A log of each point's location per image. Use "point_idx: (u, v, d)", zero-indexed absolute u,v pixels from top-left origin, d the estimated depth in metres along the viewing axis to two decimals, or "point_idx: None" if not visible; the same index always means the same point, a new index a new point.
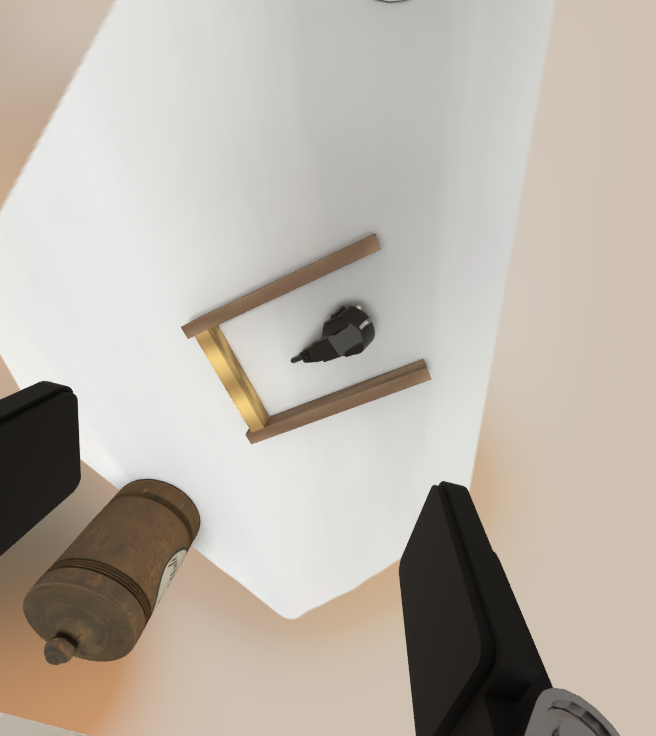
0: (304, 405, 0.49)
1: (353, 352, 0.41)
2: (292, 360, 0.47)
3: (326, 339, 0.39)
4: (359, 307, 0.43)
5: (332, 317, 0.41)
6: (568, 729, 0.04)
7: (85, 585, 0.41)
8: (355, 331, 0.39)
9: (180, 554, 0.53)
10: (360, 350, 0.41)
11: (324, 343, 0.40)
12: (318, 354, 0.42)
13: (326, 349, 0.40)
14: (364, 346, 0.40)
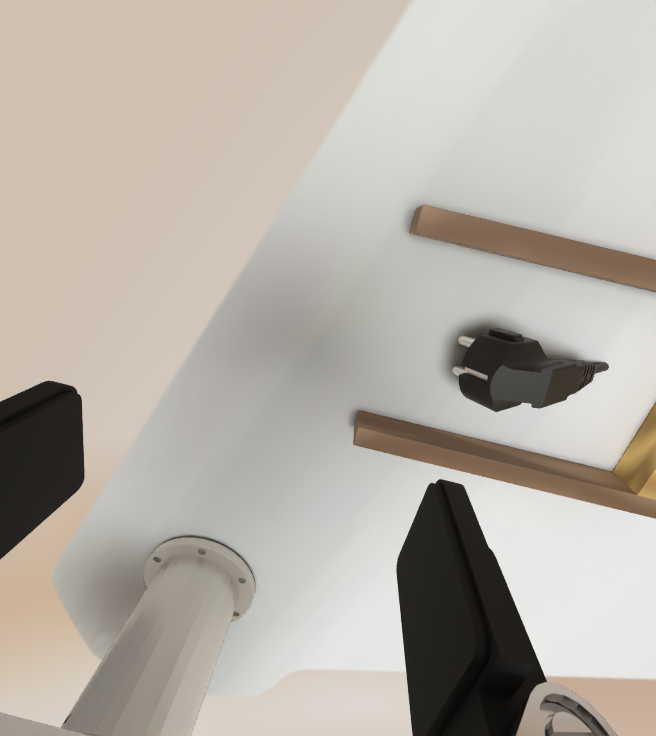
0: None
1: (523, 346, 0.24)
2: (604, 370, 0.27)
3: (543, 406, 0.23)
4: (455, 372, 0.28)
5: None
6: (561, 723, 0.04)
7: None
8: (496, 386, 0.23)
9: None
10: (513, 347, 0.23)
11: (551, 399, 0.23)
12: (572, 380, 0.24)
13: (558, 387, 0.23)
14: (503, 351, 0.23)
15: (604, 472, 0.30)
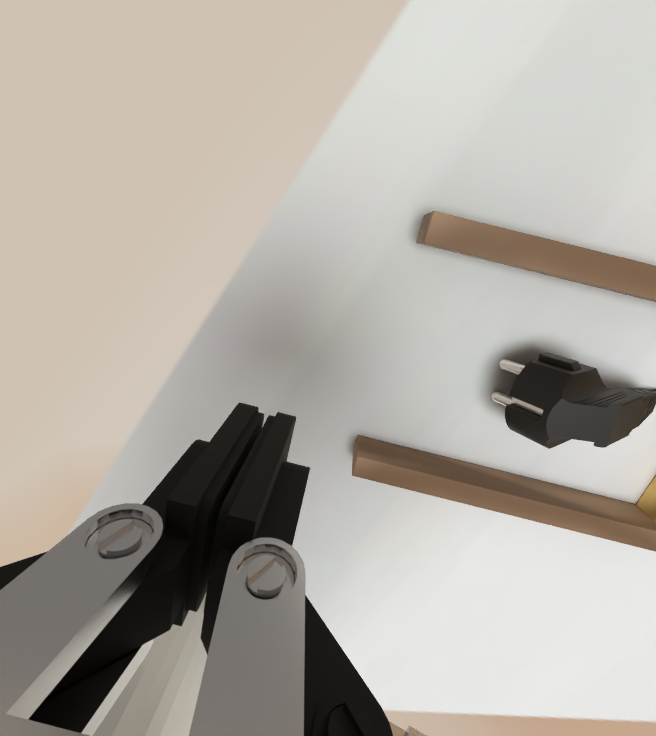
0: None
1: (582, 375, 0.21)
2: None
3: None
4: (494, 399, 0.26)
5: None
6: (254, 568, 0.05)
7: None
8: (553, 422, 0.20)
9: None
10: (572, 378, 0.20)
11: (615, 437, 0.20)
12: (637, 414, 0.21)
13: (624, 422, 0.20)
14: (561, 382, 0.20)
15: (627, 504, 0.28)
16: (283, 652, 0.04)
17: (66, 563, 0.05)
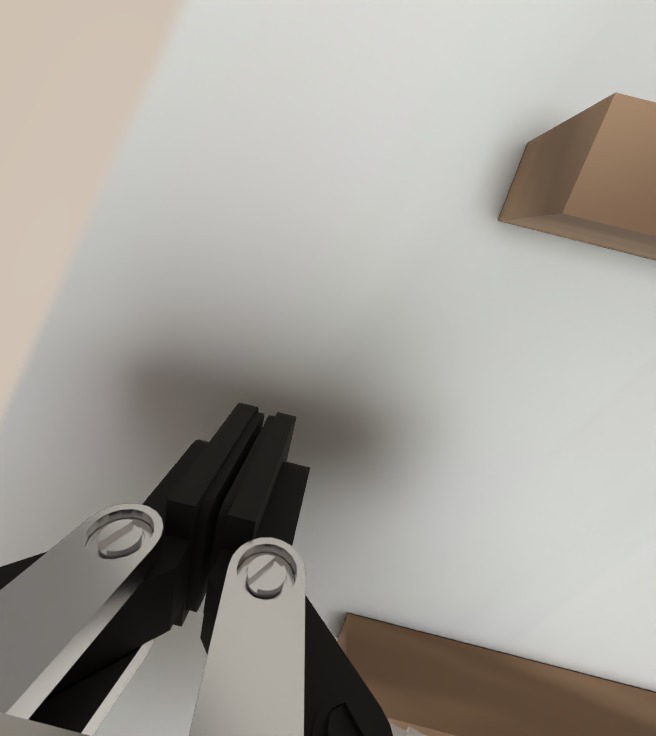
0: None
1: None
2: None
3: None
4: None
5: None
6: (253, 568, 0.05)
7: None
8: None
9: None
10: None
11: None
12: None
13: None
14: None
15: None
16: (283, 652, 0.04)
17: (66, 563, 0.05)
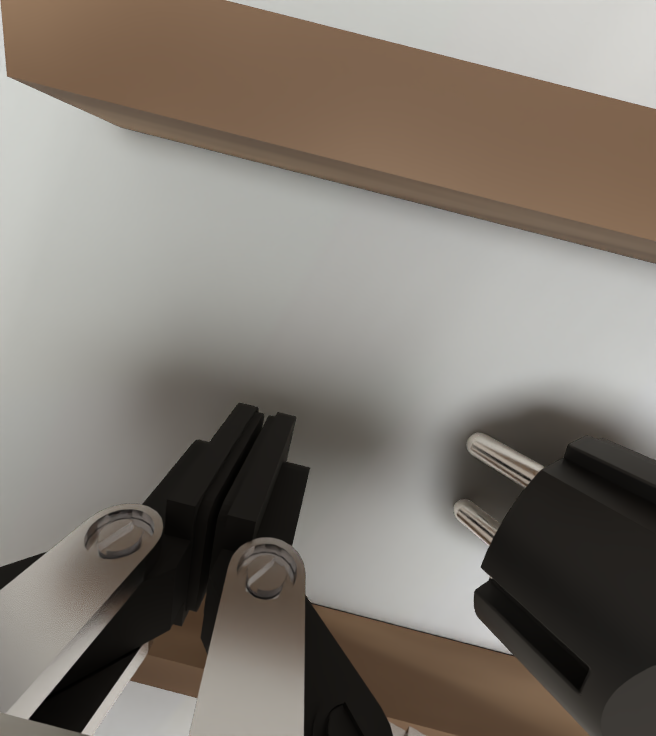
0: None
1: None
2: None
3: None
4: (460, 519, 0.11)
5: None
6: (253, 567, 0.05)
7: None
8: (629, 717, 0.06)
9: None
10: None
11: None
12: None
13: None
14: None
15: None
16: (283, 652, 0.04)
17: (66, 563, 0.05)
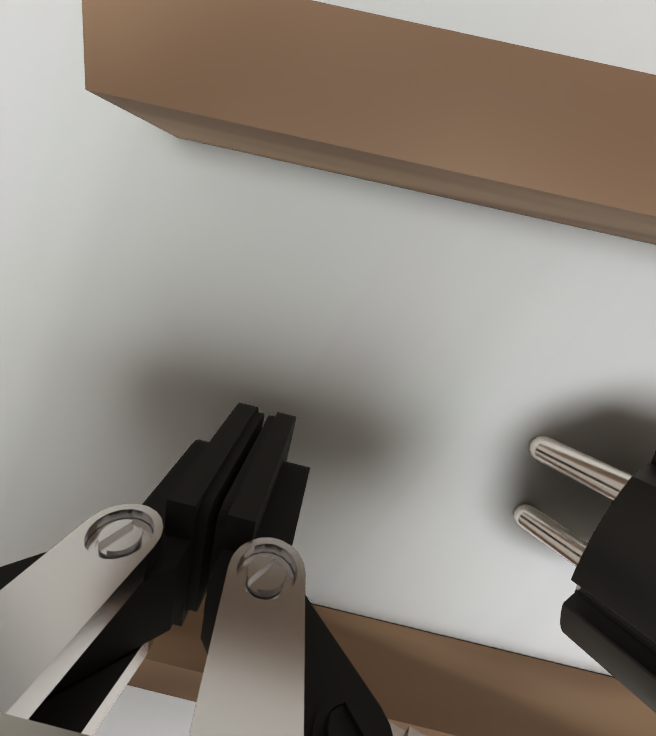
0: None
1: None
2: None
3: None
4: (523, 526, 0.11)
5: None
6: (253, 567, 0.05)
7: None
8: None
9: None
10: None
11: None
12: None
13: None
14: None
15: None
16: (283, 652, 0.04)
17: (66, 563, 0.05)
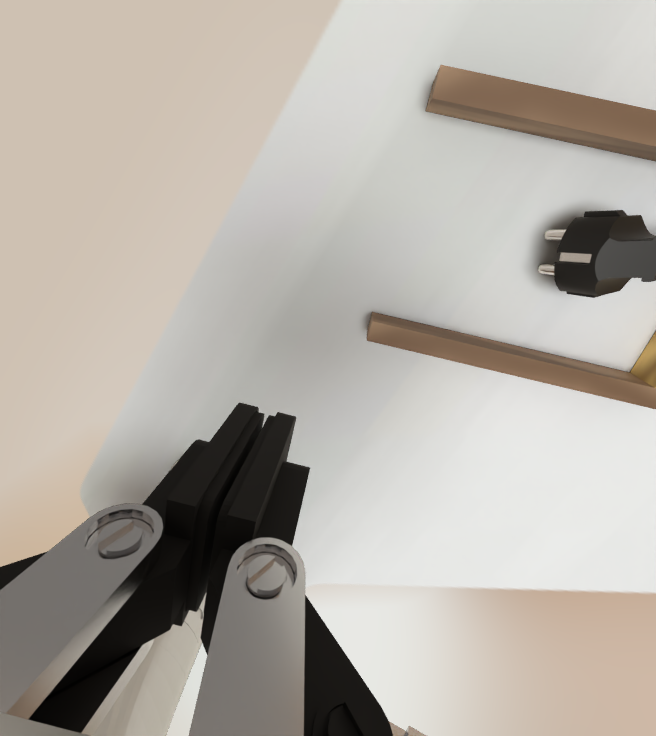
0: None
1: (628, 220, 0.22)
2: None
3: (655, 279, 0.22)
4: (541, 270, 0.28)
5: None
6: (253, 568, 0.05)
7: None
8: (602, 263, 0.22)
9: None
10: (618, 220, 0.22)
11: None
12: None
13: None
14: (608, 225, 0.22)
15: (621, 371, 0.30)
16: (283, 652, 0.04)
17: (66, 563, 0.05)
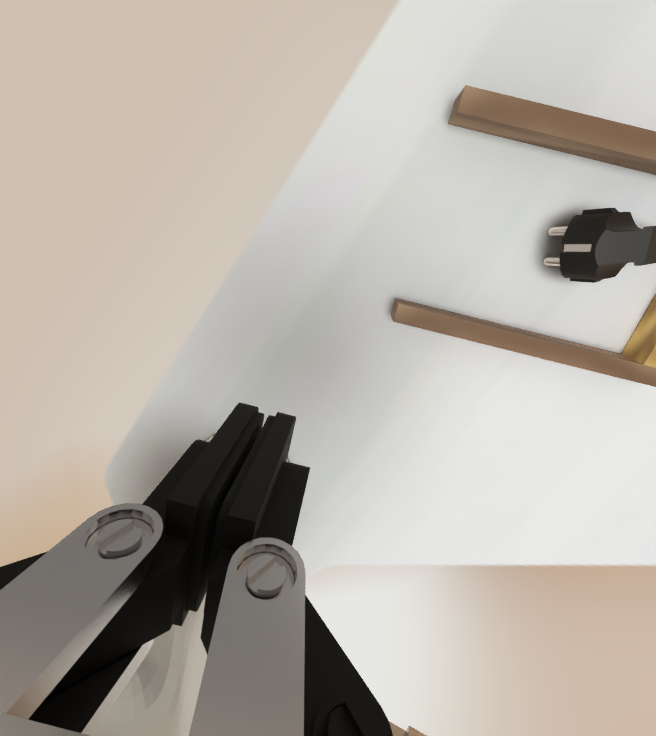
0: (653, 171, 0.29)
1: (620, 215, 0.27)
2: None
3: (645, 263, 0.26)
4: (547, 262, 0.32)
5: (600, 279, 0.29)
6: (253, 568, 0.05)
7: None
8: (601, 250, 0.26)
9: None
10: (612, 215, 0.26)
11: (651, 257, 0.26)
12: None
13: None
14: (604, 219, 0.26)
15: (614, 353, 0.34)
16: (283, 652, 0.04)
17: (66, 563, 0.05)
